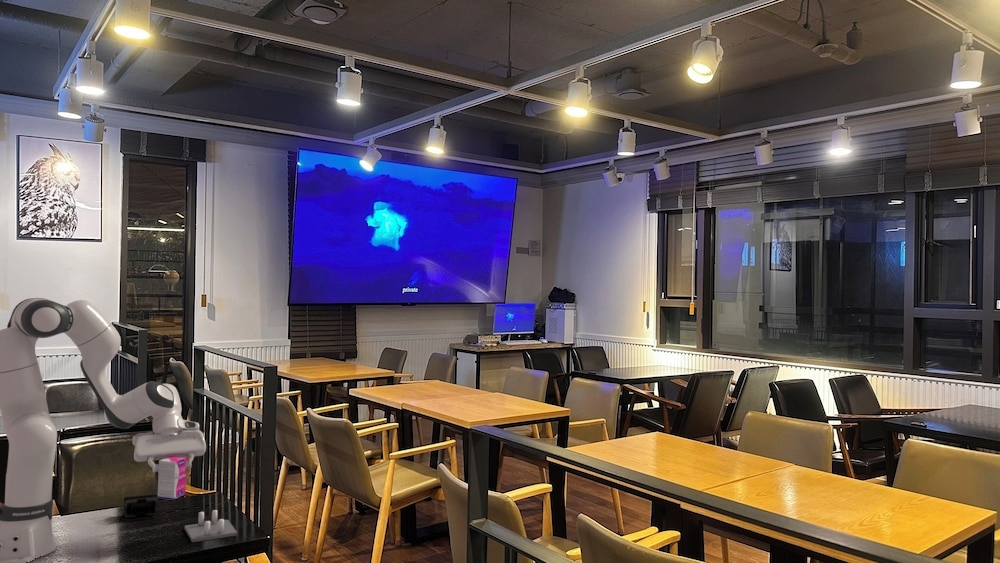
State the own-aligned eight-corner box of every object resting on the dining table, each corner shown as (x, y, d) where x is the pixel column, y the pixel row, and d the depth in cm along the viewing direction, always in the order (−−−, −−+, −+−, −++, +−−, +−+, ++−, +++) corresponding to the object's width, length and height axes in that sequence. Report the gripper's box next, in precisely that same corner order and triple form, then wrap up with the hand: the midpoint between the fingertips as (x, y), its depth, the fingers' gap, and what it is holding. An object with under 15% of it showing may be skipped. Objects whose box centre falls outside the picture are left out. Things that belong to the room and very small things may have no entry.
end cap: (156, 511, 238) (157, 491, 238) (157, 518, 232) (158, 497, 232) (123, 515, 233) (123, 494, 233) (123, 521, 227) (124, 500, 227)
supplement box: (174, 500, 211) (174, 462, 211) (156, 498, 213) (157, 460, 212) (186, 494, 217) (187, 457, 217) (169, 492, 218) (170, 455, 218)
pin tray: (192, 542, 212) (192, 525, 212) (184, 528, 223) (185, 513, 223) (237, 535, 219) (237, 519, 219) (227, 522, 230) (228, 507, 230)
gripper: (132, 428, 216) (135, 467, 208) (204, 422, 227) (209, 460, 219) (130, 439, 219) (133, 479, 211) (201, 433, 231) (206, 470, 222)
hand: (172, 469), depth 215 cm, fingers closed on supplement box, 8 cm apart
